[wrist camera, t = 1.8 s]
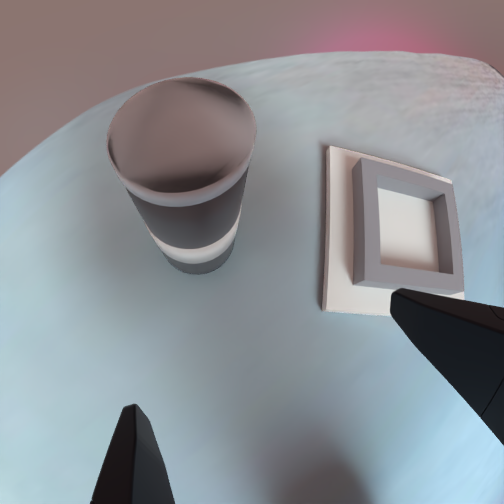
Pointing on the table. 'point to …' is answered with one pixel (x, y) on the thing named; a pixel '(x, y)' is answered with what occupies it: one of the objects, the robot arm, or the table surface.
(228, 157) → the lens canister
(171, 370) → the table surface
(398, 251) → the square framed plate
